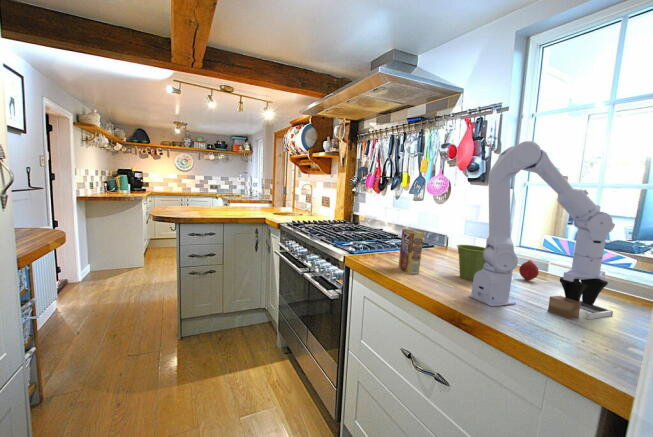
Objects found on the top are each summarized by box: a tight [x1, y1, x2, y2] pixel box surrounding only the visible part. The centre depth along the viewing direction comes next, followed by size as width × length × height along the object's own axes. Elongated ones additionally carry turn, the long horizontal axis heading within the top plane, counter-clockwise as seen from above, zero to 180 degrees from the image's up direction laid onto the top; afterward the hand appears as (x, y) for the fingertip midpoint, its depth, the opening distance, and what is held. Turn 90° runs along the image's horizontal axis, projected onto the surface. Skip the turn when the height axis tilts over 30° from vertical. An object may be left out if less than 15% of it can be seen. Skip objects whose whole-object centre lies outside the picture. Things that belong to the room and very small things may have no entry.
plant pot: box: [456, 244, 486, 282], centre depth 104 cm, size 12×12×11 cm
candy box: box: [397, 228, 425, 275], centre depth 109 cm, size 9×4×15 cm, turn 13°
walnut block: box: [547, 295, 581, 320], centre depth 77 cm, size 4×5×4 cm
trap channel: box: [579, 300, 614, 320], centre depth 80 cm, size 11×8×1 cm
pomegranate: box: [518, 258, 539, 282], centre depth 107 cm, size 6×6×8 cm
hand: (579, 305), depth 79 cm, fingers open, 7 cm apart
